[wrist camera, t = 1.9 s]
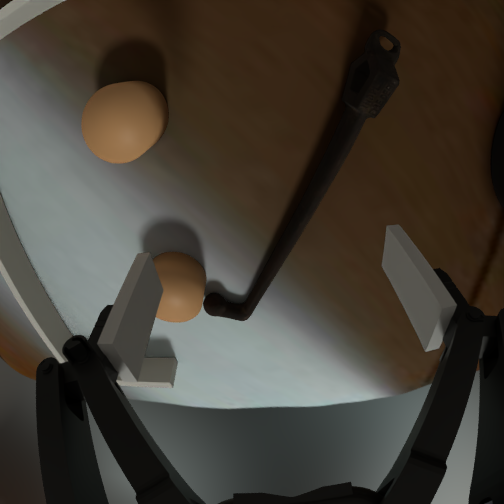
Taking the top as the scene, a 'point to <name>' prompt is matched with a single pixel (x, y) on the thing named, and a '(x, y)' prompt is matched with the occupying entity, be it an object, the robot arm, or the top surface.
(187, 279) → the puck
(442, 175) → the top surface
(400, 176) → the top surface
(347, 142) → the black hooked stick
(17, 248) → the chip tray
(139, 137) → the puck
